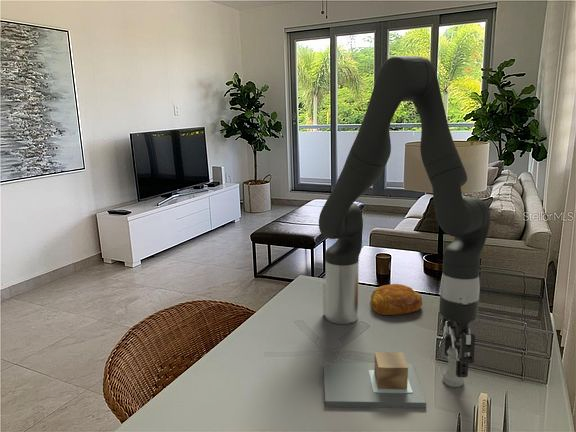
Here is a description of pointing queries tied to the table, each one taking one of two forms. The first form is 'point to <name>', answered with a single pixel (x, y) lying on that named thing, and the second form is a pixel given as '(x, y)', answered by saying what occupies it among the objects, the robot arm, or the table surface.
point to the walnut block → (390, 370)
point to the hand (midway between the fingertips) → (455, 365)
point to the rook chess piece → (452, 370)
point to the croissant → (395, 299)
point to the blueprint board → (367, 388)
